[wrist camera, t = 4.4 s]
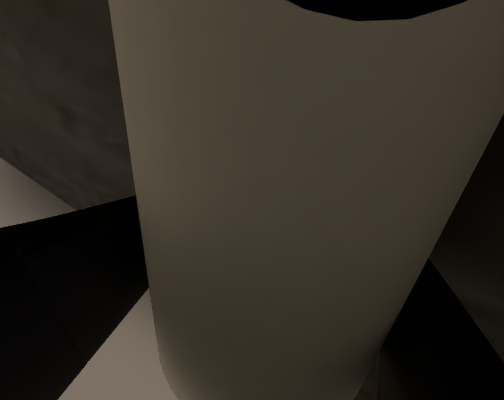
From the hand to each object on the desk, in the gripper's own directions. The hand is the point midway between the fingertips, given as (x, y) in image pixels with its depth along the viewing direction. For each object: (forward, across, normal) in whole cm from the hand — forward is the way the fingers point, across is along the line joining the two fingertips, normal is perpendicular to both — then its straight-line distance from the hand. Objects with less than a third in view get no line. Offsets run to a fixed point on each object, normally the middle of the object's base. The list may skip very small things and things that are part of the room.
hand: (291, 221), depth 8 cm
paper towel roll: (+2, 0, -3) cm, 4 cm away
